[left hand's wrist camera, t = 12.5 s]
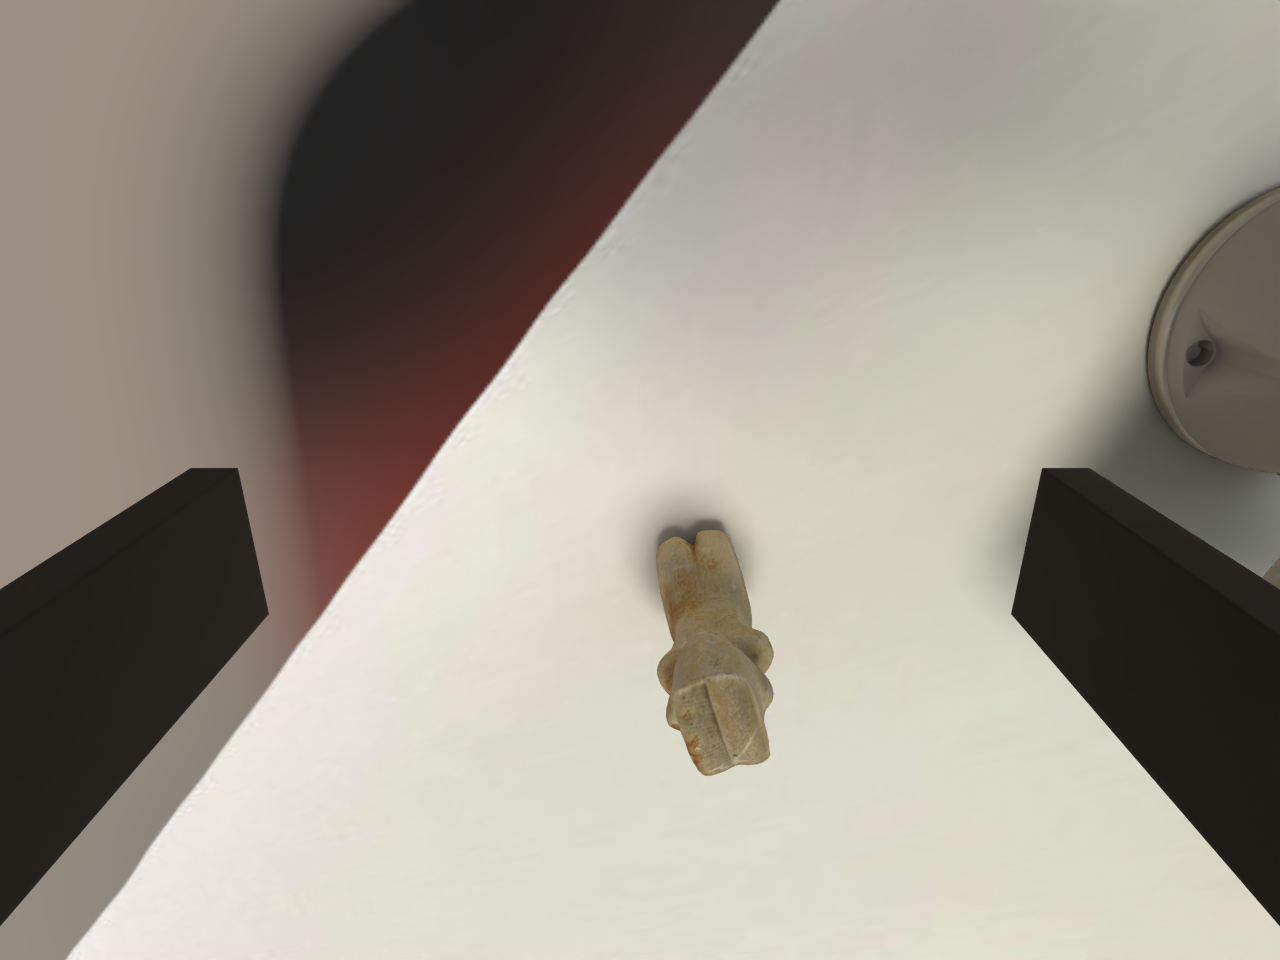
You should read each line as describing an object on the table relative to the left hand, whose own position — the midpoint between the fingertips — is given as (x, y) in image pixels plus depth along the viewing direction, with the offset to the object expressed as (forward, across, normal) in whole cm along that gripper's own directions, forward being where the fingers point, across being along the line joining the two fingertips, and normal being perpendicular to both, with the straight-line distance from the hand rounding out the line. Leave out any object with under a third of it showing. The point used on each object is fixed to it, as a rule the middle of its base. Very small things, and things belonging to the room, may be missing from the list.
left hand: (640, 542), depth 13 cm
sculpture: (+29, +4, -17) cm, 34 cm away
